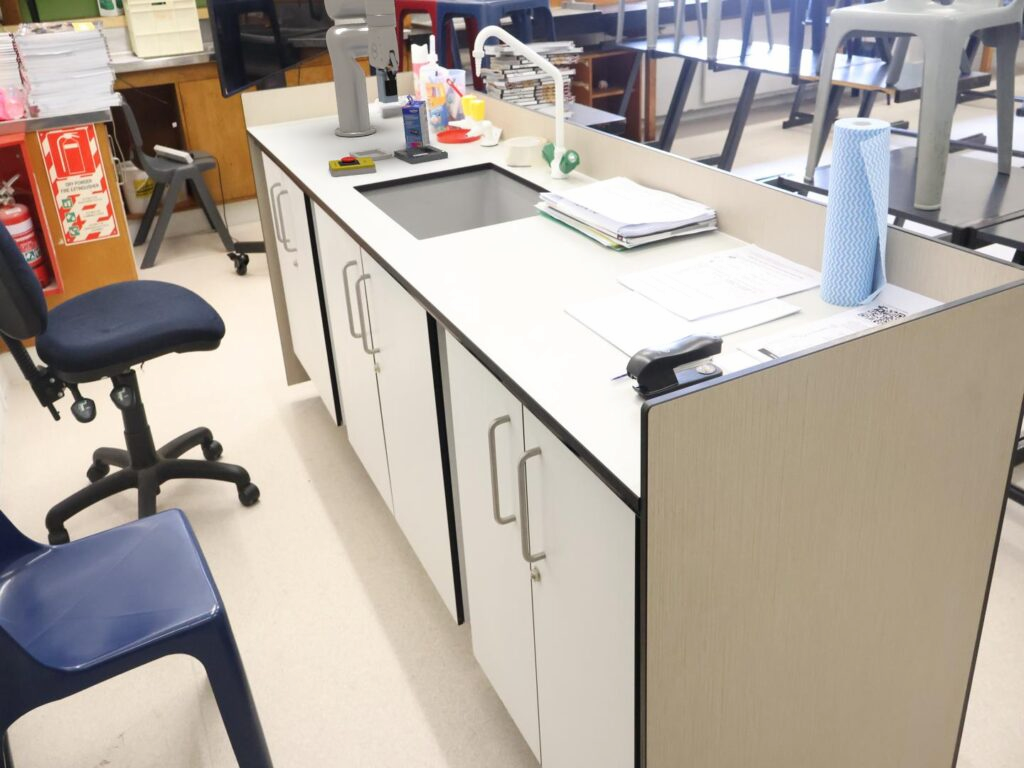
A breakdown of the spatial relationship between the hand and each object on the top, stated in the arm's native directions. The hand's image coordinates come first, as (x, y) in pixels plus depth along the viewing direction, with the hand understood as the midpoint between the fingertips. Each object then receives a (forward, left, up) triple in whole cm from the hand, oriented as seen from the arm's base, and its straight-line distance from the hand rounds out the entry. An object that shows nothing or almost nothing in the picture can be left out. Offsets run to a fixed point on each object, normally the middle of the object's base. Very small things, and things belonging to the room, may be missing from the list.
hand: (388, 93), depth 244 cm
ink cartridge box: (-9, +12, -18) cm, 23 cm away
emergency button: (+6, -15, -18) cm, 24 cm away
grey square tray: (-4, -5, -18) cm, 19 cm away
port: (+5, +6, -18) cm, 19 cm away
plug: (0, 0, -2) cm, 2 cm away
